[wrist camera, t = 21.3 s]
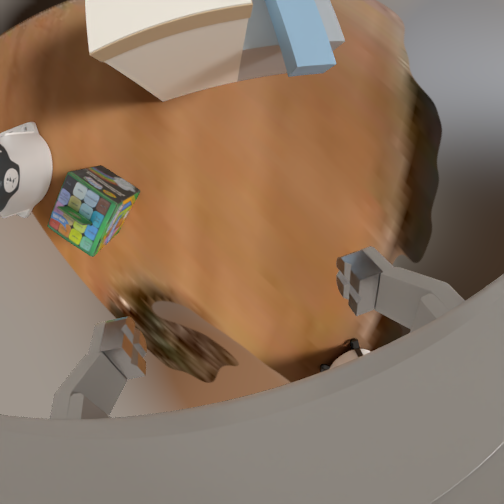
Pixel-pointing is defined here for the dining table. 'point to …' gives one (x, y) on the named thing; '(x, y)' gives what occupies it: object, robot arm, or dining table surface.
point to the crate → (276, 41)
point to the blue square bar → (301, 36)
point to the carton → (170, 41)
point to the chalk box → (92, 208)
